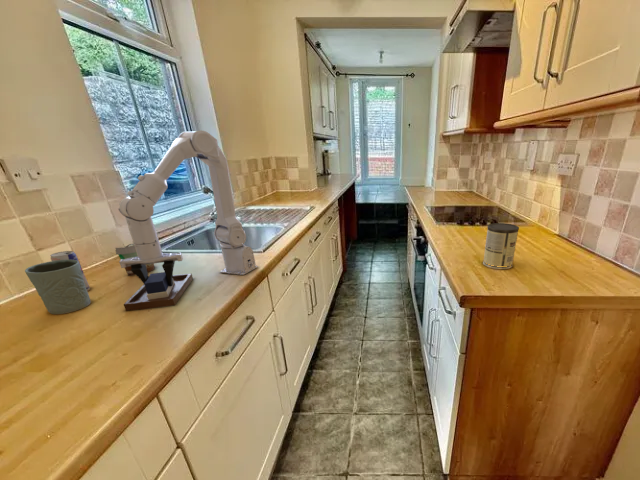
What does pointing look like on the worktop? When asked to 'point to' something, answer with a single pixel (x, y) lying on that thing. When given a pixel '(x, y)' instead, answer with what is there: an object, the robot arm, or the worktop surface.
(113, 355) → the worktop surface
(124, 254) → the food container
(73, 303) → the grey plant pot
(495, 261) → the coffee can
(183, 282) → the tray
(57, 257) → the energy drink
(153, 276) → the board eraser
